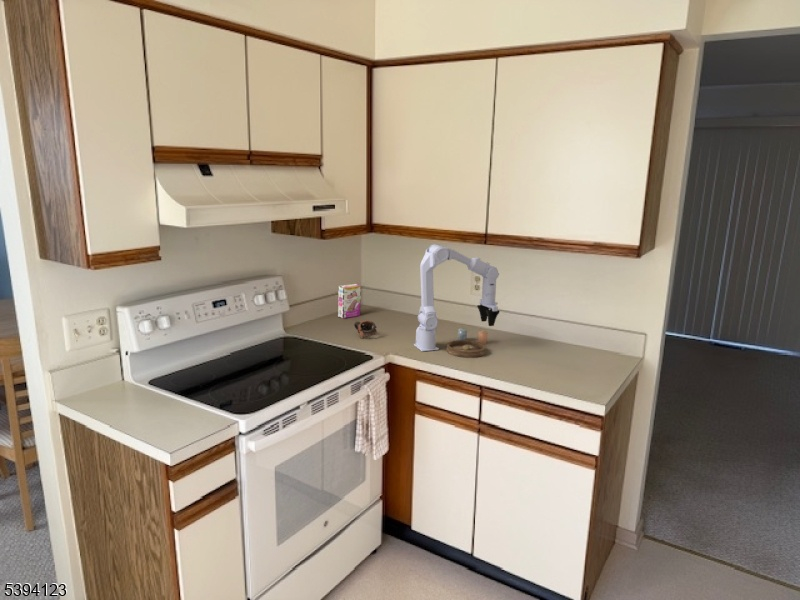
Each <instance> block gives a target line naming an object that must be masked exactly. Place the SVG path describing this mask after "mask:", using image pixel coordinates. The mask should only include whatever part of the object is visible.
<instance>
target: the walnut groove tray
mask: <svg viewBox="0 0 800 600" xmlns="http://www.w3.org/2000/svg"><path fill="white" fill-rule="evenodd" d="M446 352H447V353H448V354H450V355H452V356H453V357H459V358H467V359H469V358H471V359H473V358H479V357H482V356H484V355H485V354H486V344H482V343H480V342H478V341H476V340H475V341H474V340H470V339H469V340H468V339H467V340H458V339H457V340H451V341H449V342H447V343H446Z"/></svg>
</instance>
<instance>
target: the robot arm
mask: <svg viewBox="0 0 800 600" xmlns="http://www.w3.org/2000/svg"><path fill="white" fill-rule="evenodd" d="M447 260H448V261H451V260H455V261H457V262H460V263H461V264H464V265H465V266H467V269H468V270H469V271H471V272H472V273H475V274H477V275H478V276H481V277H482V285H481V286H482V288H481V289H482V290H481V291H482V292H481V299H479V303H478V305H477V307H476V308H478V312H479V315H480V320H481V322H482V323H483V322H488V323H487V324H488V327H494V326H495V322H496V319H497V317H498V315H499V314H500V310H498V302H496V289H497V279H498V278H499V276H500V273H499V269H498V268H497V267H495V266H493V265H490V263H489V262H485V261H483V260H481V258H480V257H472V258H469V257H468V256H467V255H464V254H463V253H460V252H459V251H457V250H454V249H452V248H449V247H447V246H446V247H445V246H441V245H439V244H437V243H434V244H431V245H430V246H429V247H428V248H426V249H425V253H424V255H423V258H422V259H421V262H420V264H419V265H420V266H419V270H420V271H419V272H420V299H421V305H420V307H419V312H418V315H417V321H418V322H419V326H417V328H416V330H415V343H413V346H414V347H416V348H417V349H418V350H420V351H421V352H428V351H438V350H440V348H439V347H437V346H436V344H437V343H436V341H437V338H436V335H437V327H438V326H439V319H438V317H437V311H436V309H435V301H434V269H435V268H436V267H438V265H441V264H442V263H445V262H446V261H447Z"/></svg>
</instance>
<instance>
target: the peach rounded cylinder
mask: <svg viewBox="0 0 800 600" xmlns="http://www.w3.org/2000/svg"><path fill="white" fill-rule="evenodd" d="M477 336H478V337H477V342H480V343H482V344H484V345H487V343H488V331H487V330H478V335H477Z"/></svg>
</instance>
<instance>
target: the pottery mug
mask: <svg viewBox="0 0 800 600" xmlns="http://www.w3.org/2000/svg"><path fill="white" fill-rule="evenodd" d="M353 326H354V328H355V329H356V331H357V333H358V334H359V335H358V337H359V338H360V339H361V338H362V339H363V338H365V337H366V338H368V337H371V336H372V335H375V334H376V333H377V326H376V323H375V322H373V321H372V320H362V321H361V322H360V321H355V322H354V324H353Z"/></svg>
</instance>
